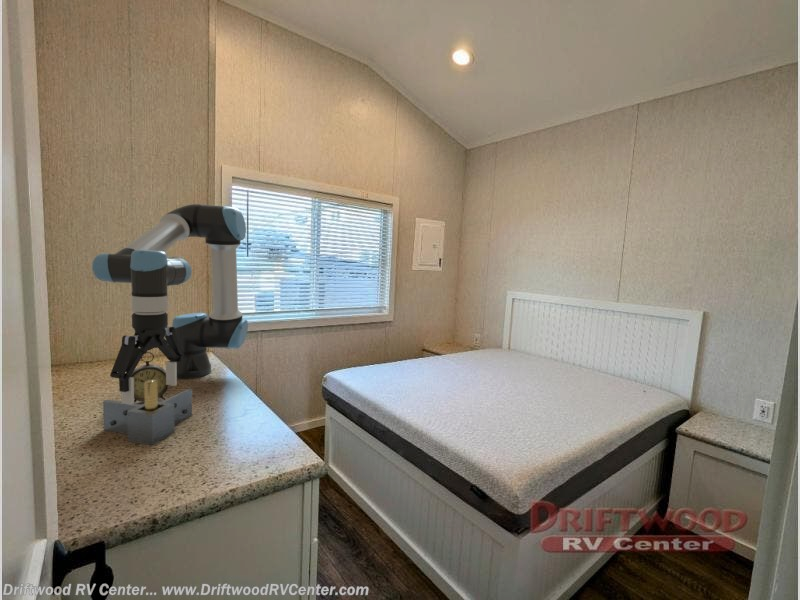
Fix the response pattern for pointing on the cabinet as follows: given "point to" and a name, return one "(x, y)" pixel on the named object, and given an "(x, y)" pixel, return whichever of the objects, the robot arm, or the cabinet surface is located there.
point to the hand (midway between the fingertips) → (151, 393)
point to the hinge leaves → (147, 418)
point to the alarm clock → (146, 374)
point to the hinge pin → (151, 395)
